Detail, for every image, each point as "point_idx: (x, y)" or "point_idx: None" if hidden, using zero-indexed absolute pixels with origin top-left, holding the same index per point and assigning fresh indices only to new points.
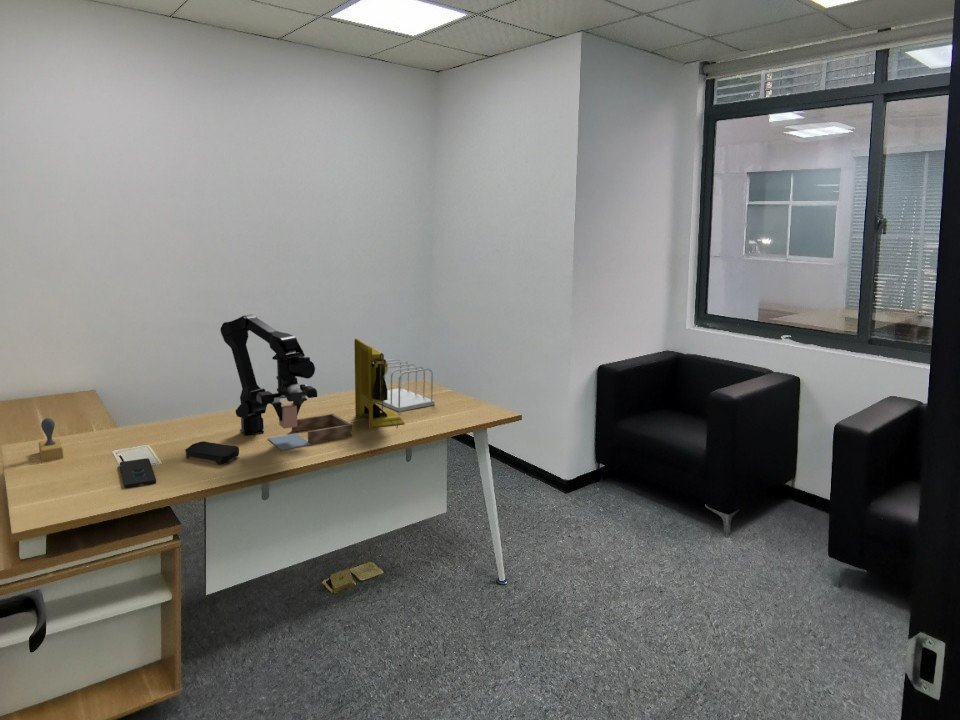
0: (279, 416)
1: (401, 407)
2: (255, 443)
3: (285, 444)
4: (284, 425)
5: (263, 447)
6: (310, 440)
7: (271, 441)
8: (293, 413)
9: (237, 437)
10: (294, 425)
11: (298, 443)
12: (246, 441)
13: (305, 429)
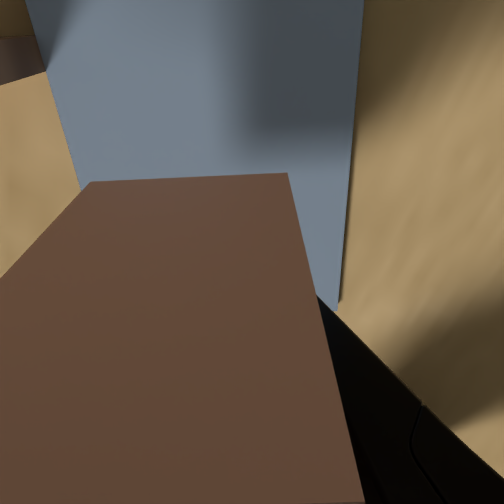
0: (363, 342)
1: None
2: (448, 265)
3: (273, 96)
4: (284, 190)
5: (454, 146)
6: (8, 37)
7: (342, 239)
8: (58, 315)
9: (468, 400)
10: (127, 186)
11: (148, 62)
12: (471, 324)
13: None
